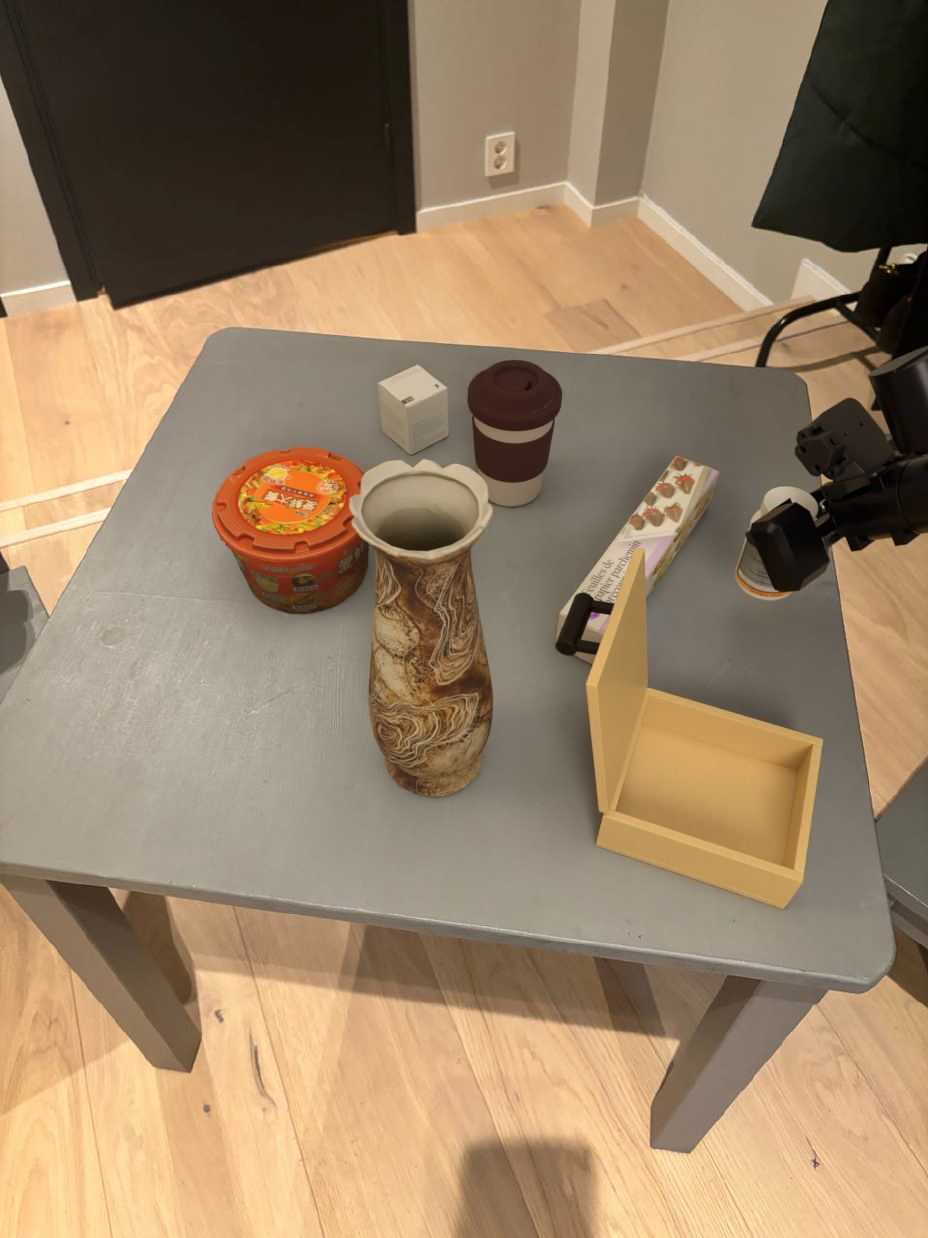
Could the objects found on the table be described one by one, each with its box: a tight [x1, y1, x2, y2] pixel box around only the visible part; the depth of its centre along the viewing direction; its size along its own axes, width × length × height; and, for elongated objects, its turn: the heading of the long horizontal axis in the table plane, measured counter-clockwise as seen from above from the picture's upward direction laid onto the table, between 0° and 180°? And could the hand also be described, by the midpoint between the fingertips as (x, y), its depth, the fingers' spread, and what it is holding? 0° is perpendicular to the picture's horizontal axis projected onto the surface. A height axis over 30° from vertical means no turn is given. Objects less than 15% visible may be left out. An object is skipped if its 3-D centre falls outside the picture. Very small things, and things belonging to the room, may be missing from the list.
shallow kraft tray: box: [595, 686, 824, 910], centre depth 76 cm, size 16×14×5 cm
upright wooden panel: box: [554, 548, 649, 814], centre depth 70 cm, size 16×14×4 cm
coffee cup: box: [467, 359, 563, 508], centre depth 98 cm, size 10×10×15 cm
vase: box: [349, 458, 494, 798], centre depth 70 cm, size 10×11×30 cm
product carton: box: [377, 364, 450, 456], centre depth 107 cm, size 6×6×7 cm
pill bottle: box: [734, 485, 818, 602], centre depth 82 cm, size 6×6×10 cm
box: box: [554, 455, 720, 665], centre depth 93 cm, size 27×5×6 cm, turn 147°
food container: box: [211, 446, 370, 615], centre depth 92 cm, size 16×16×11 cm
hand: (769, 522), depth 81 cm, fingers closed on pill bottle, 6 cm apart
